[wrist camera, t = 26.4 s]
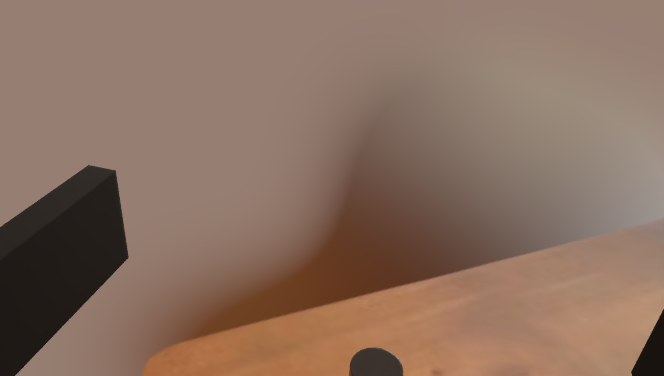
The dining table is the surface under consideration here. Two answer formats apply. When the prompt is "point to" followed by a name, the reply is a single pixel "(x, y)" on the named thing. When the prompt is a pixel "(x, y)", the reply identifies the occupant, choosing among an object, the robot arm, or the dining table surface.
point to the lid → (375, 363)
